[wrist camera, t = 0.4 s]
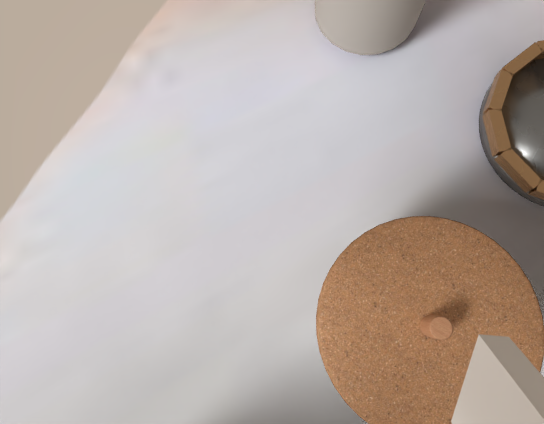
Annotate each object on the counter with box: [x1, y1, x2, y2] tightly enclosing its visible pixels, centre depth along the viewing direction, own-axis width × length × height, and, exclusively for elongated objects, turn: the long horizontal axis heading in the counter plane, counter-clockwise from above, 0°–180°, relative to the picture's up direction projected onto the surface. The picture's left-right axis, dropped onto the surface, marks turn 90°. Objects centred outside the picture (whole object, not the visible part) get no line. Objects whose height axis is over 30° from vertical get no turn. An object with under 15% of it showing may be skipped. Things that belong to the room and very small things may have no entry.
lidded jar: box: [316, 216, 544, 424], centre depth 24 cm, size 11×11×9 cm
